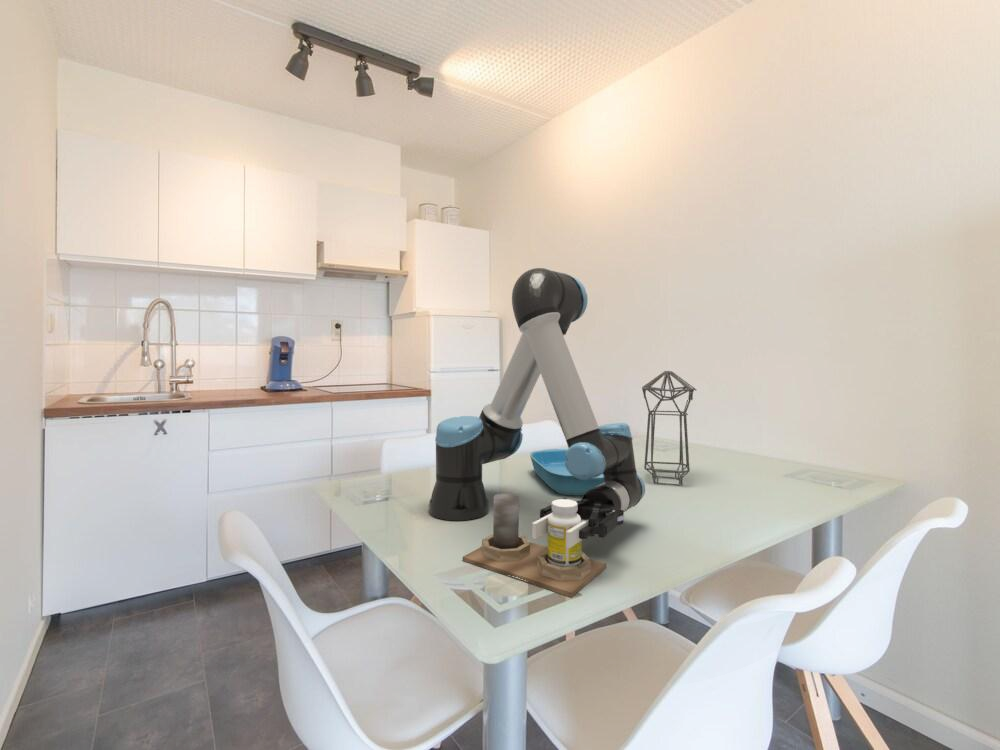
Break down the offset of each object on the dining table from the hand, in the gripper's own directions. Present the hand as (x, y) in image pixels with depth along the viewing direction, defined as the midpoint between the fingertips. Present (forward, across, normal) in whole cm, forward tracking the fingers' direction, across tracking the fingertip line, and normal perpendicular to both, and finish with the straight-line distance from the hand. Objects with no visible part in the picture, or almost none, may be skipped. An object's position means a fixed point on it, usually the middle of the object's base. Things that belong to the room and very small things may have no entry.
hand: (550, 535), depth 85 cm
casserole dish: (-62, +28, -9) cm, 69 cm away
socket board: (-5, +7, -9) cm, 12 cm away
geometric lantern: (-82, +5, -9) cm, 83 cm away
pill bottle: (-5, 0, -7) cm, 8 cm away
